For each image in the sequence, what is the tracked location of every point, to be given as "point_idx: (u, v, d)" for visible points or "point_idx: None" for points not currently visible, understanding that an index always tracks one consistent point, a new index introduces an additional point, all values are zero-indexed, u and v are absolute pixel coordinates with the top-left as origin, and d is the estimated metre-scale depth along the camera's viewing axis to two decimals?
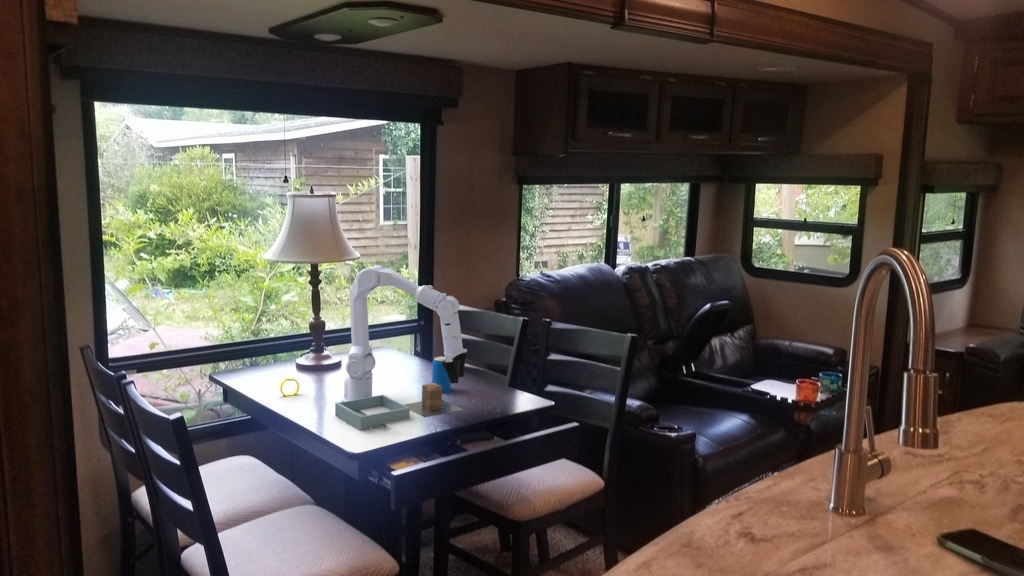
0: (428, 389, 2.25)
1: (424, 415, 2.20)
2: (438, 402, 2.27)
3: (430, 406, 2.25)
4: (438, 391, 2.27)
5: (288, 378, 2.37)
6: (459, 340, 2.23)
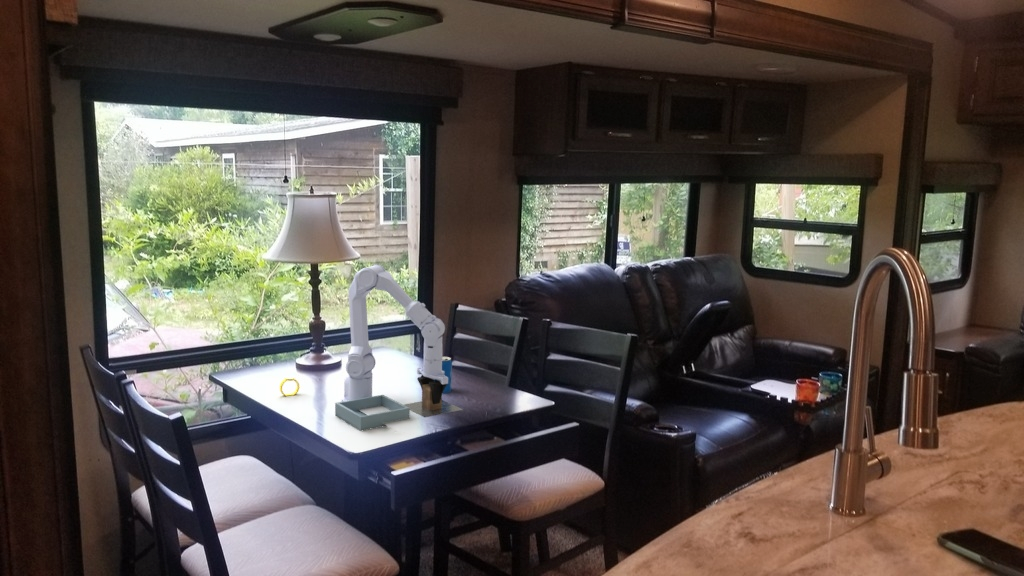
0: (428, 389, 2.25)
1: (424, 415, 2.20)
2: None
3: (430, 406, 2.25)
4: None
5: (288, 378, 2.37)
6: None
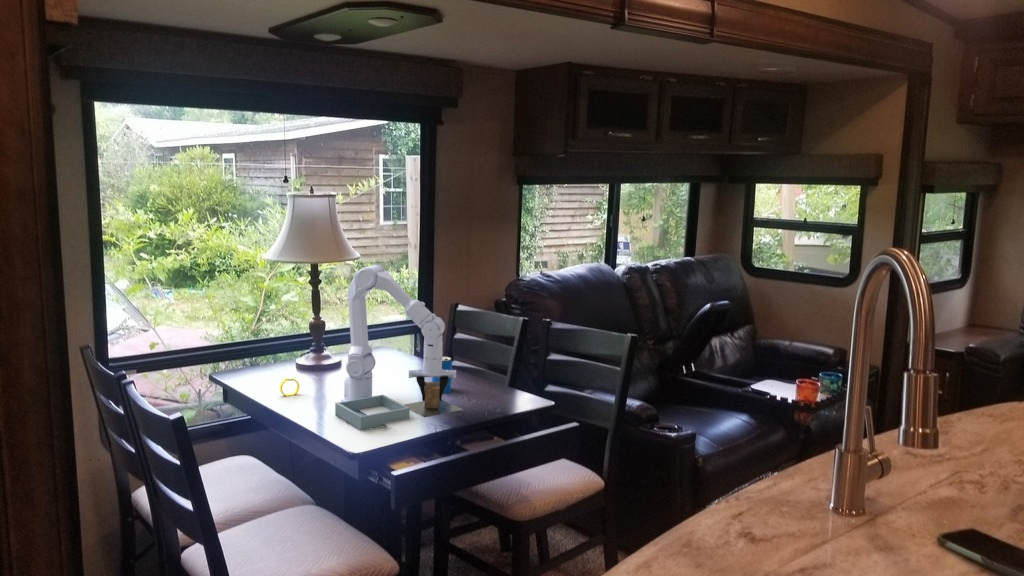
0: (436, 387, 2.26)
1: (424, 415, 2.20)
2: None
3: None
4: None
5: (288, 378, 2.37)
6: None
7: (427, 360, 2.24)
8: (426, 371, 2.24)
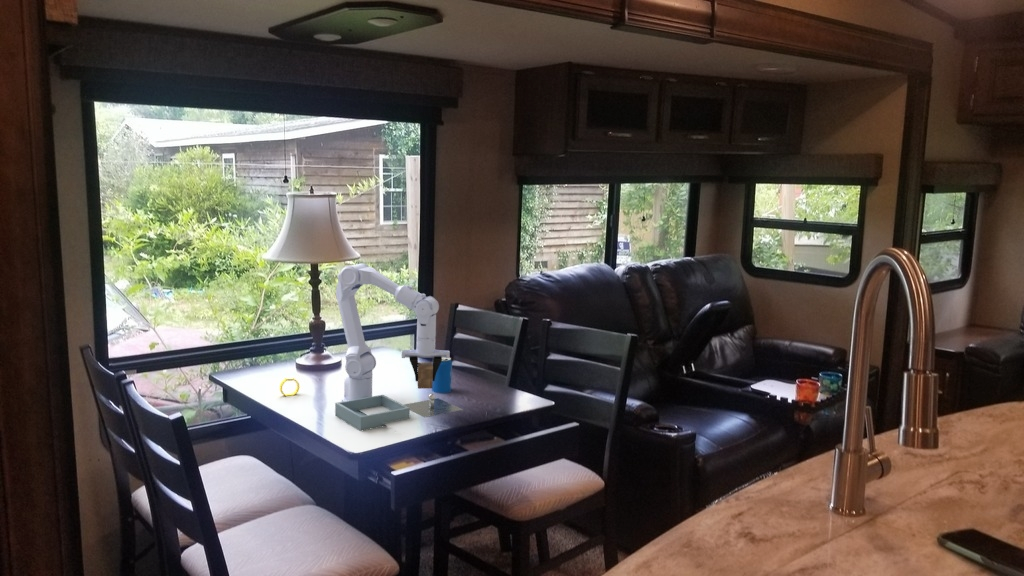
0: (430, 368, 2.23)
1: (424, 415, 2.20)
2: None
3: None
4: None
5: (288, 378, 2.37)
6: None
7: (420, 340, 2.22)
8: (419, 351, 2.22)
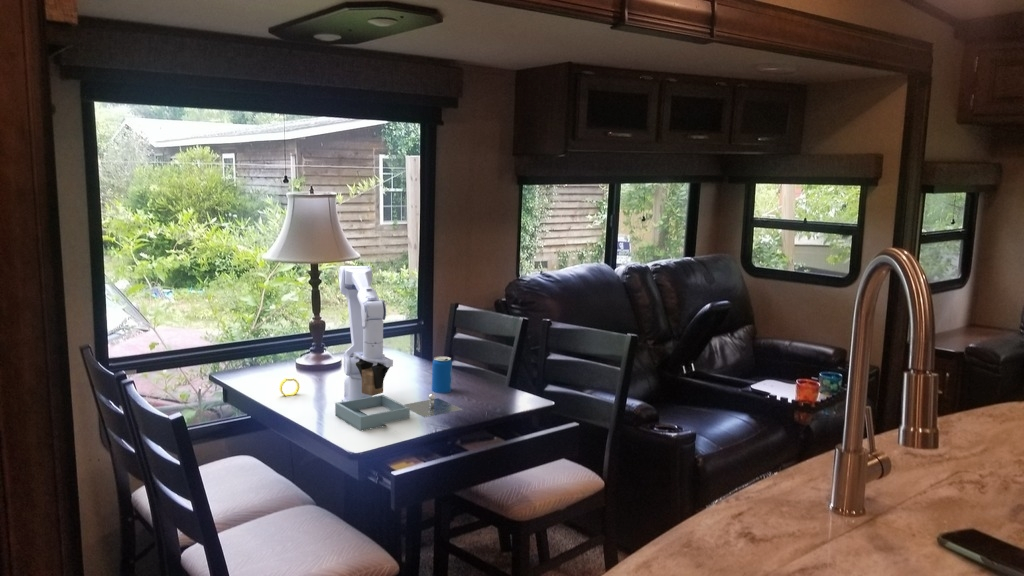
0: (370, 374, 2.14)
1: (424, 415, 2.20)
2: None
3: (373, 391, 2.15)
4: None
5: (288, 378, 2.37)
6: None
7: (363, 343, 2.15)
8: (363, 354, 2.16)
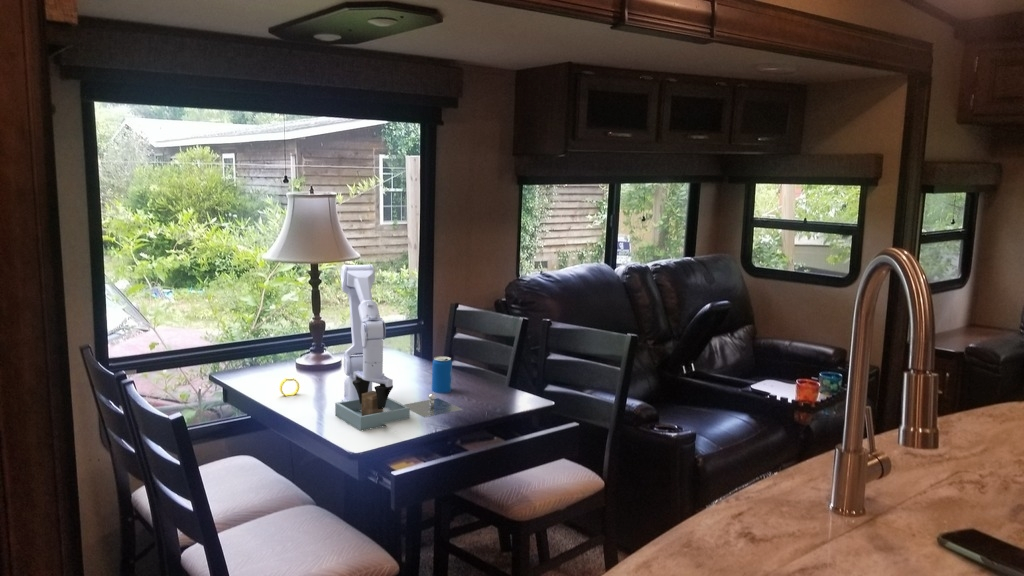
0: (370, 398, 2.15)
1: (424, 415, 2.20)
2: (380, 410, 2.18)
3: None
4: None
5: (288, 378, 2.37)
6: None
7: (363, 363, 2.16)
8: (362, 374, 2.17)
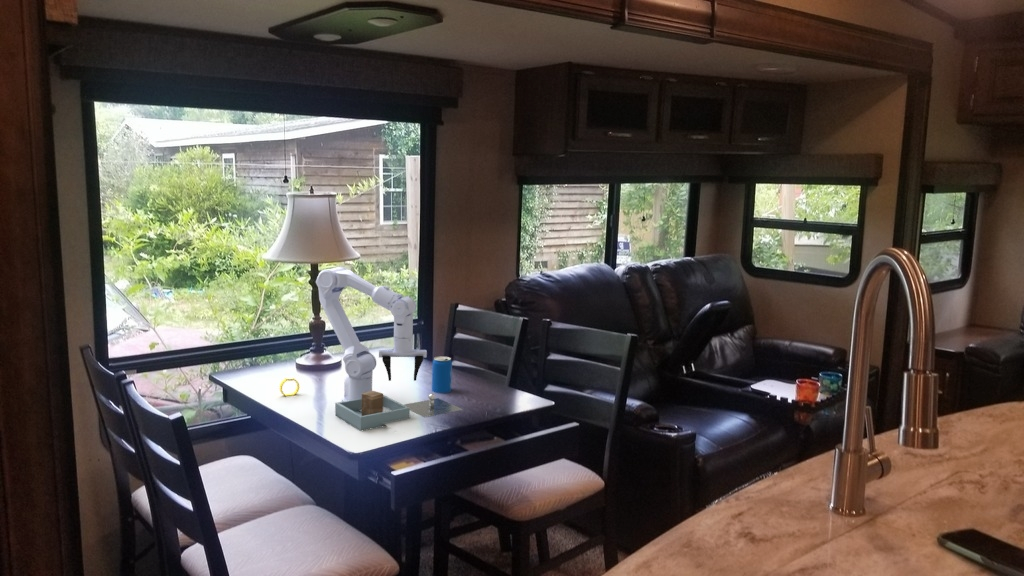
0: (370, 398, 2.15)
1: (424, 415, 2.20)
2: (380, 410, 2.18)
3: None
4: (379, 399, 2.18)
5: (288, 378, 2.37)
6: None
7: (397, 339, 2.23)
8: (396, 350, 2.24)
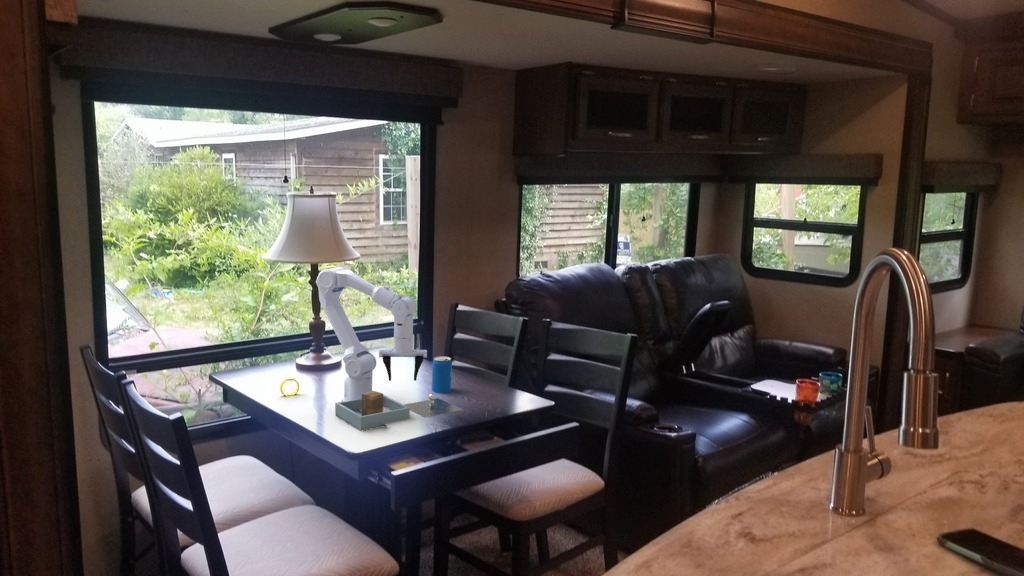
0: (370, 398, 2.15)
1: (424, 415, 2.20)
2: (380, 410, 2.18)
3: None
4: (379, 399, 2.18)
5: (288, 378, 2.37)
6: None
7: (397, 339, 2.23)
8: (396, 350, 2.24)
